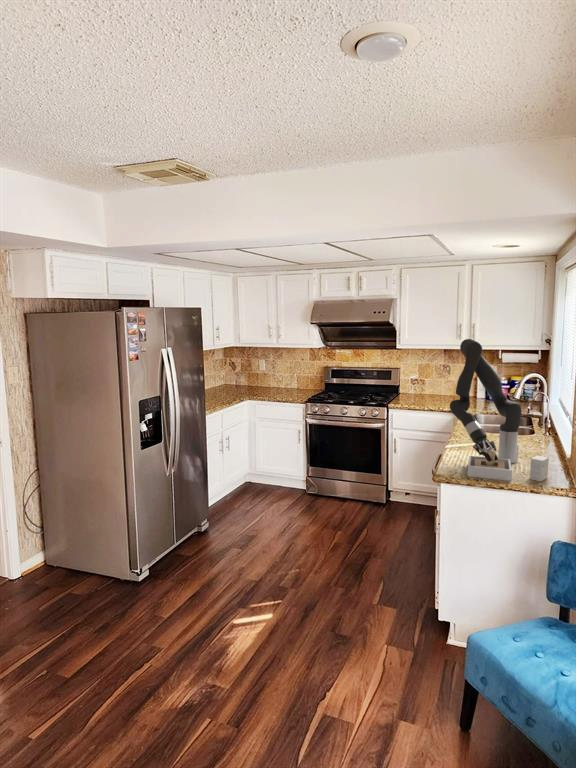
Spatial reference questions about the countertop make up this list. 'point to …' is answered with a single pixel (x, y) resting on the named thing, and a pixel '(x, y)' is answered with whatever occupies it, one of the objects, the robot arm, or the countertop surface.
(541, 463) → the small box
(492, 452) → the peg
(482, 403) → the countertop surface
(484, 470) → the bin
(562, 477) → the countertop surface
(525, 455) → the countertop surface
